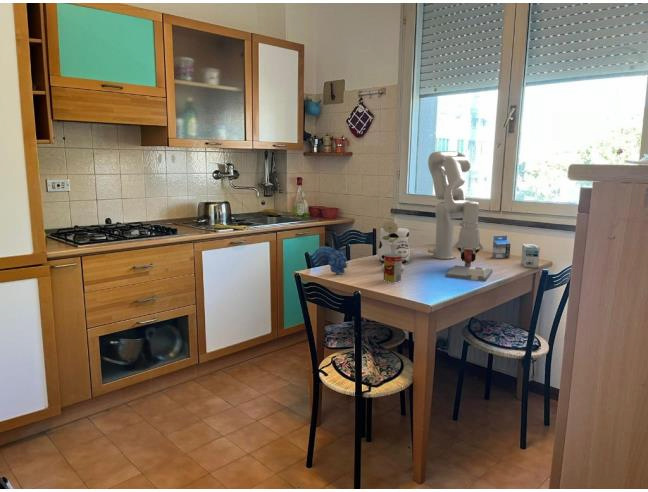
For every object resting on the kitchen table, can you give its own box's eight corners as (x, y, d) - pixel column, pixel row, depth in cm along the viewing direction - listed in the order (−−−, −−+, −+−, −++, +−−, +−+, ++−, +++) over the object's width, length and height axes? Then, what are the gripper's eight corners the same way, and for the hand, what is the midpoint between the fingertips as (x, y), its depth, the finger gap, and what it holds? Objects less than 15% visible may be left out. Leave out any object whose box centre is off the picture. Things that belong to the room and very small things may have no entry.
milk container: (403, 266, 243) (404, 232, 240) (372, 263, 252) (373, 229, 249) (414, 260, 258) (415, 228, 255) (384, 257, 267) (385, 226, 263)
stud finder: (468, 275, 219) (468, 268, 218) (470, 272, 223) (470, 266, 223) (483, 276, 216) (484, 269, 215) (485, 274, 220) (486, 267, 220)
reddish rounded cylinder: (462, 267, 242) (463, 250, 240) (464, 265, 246) (465, 248, 244) (471, 268, 240) (472, 250, 238) (472, 266, 244) (473, 249, 242)
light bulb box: (538, 268, 241) (540, 247, 239) (524, 267, 242) (526, 246, 240) (533, 263, 251) (535, 243, 249) (520, 263, 253) (522, 243, 251)
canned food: (389, 277, 220) (390, 252, 218) (404, 280, 216) (405, 254, 213) (380, 280, 214) (380, 255, 212) (395, 283, 210) (396, 257, 207)
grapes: (335, 278, 219) (335, 253, 217) (325, 275, 224) (325, 251, 222) (352, 274, 227) (353, 249, 224) (342, 271, 231) (343, 248, 229)
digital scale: (445, 276, 222) (446, 273, 222) (455, 268, 240) (455, 265, 240) (485, 281, 214) (485, 277, 214) (492, 272, 232) (492, 269, 231)
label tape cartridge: (495, 258, 263) (497, 237, 261) (491, 257, 267) (493, 236, 265) (509, 258, 265) (511, 236, 263) (505, 256, 269) (507, 235, 267)
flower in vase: (409, 270, 234) (410, 220, 230) (396, 274, 226) (397, 223, 222) (387, 266, 243) (388, 218, 239) (374, 270, 235) (375, 220, 231)
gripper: (451, 225, 240) (449, 260, 243) (486, 227, 232) (483, 264, 235) (454, 223, 246) (453, 258, 249) (488, 226, 238) (486, 261, 242)
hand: (467, 260), depth 242 cm, fingers closed on reddish rounded cylinder, 4 cm apart
